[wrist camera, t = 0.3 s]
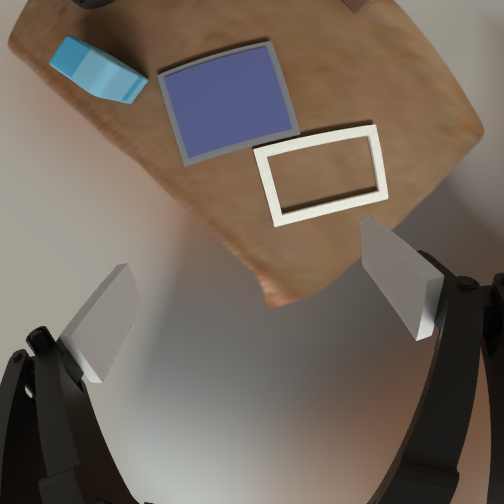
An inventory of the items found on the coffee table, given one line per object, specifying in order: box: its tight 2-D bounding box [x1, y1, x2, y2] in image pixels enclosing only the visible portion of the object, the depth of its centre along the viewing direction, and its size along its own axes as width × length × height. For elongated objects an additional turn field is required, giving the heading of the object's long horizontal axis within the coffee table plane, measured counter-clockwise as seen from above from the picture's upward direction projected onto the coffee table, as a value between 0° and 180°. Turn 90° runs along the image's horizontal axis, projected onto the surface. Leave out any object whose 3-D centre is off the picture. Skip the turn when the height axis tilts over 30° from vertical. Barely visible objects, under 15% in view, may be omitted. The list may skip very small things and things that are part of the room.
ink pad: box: [157, 41, 301, 167], centre depth 34 cm, size 15×17×2 cm
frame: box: [253, 125, 388, 227], centre depth 38 cm, size 12×19×1 cm, turn 106°
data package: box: [49, 35, 148, 104], centre depth 26 cm, size 12×4×12 cm, turn 49°
